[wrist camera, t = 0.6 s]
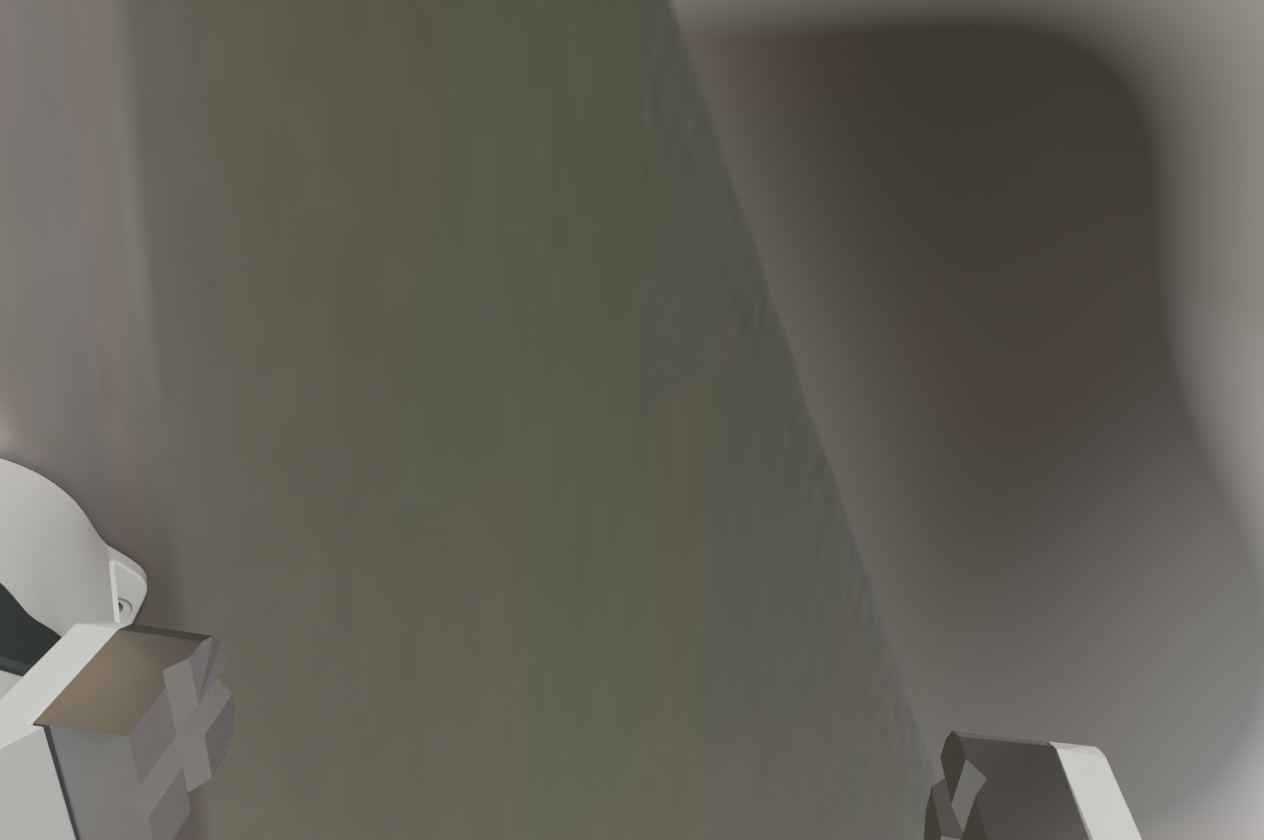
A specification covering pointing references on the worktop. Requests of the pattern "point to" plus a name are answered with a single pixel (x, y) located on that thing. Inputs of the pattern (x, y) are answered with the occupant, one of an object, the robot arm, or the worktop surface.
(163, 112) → the worktop surface
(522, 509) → the worktop surface
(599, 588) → the worktop surface
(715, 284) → the worktop surface
